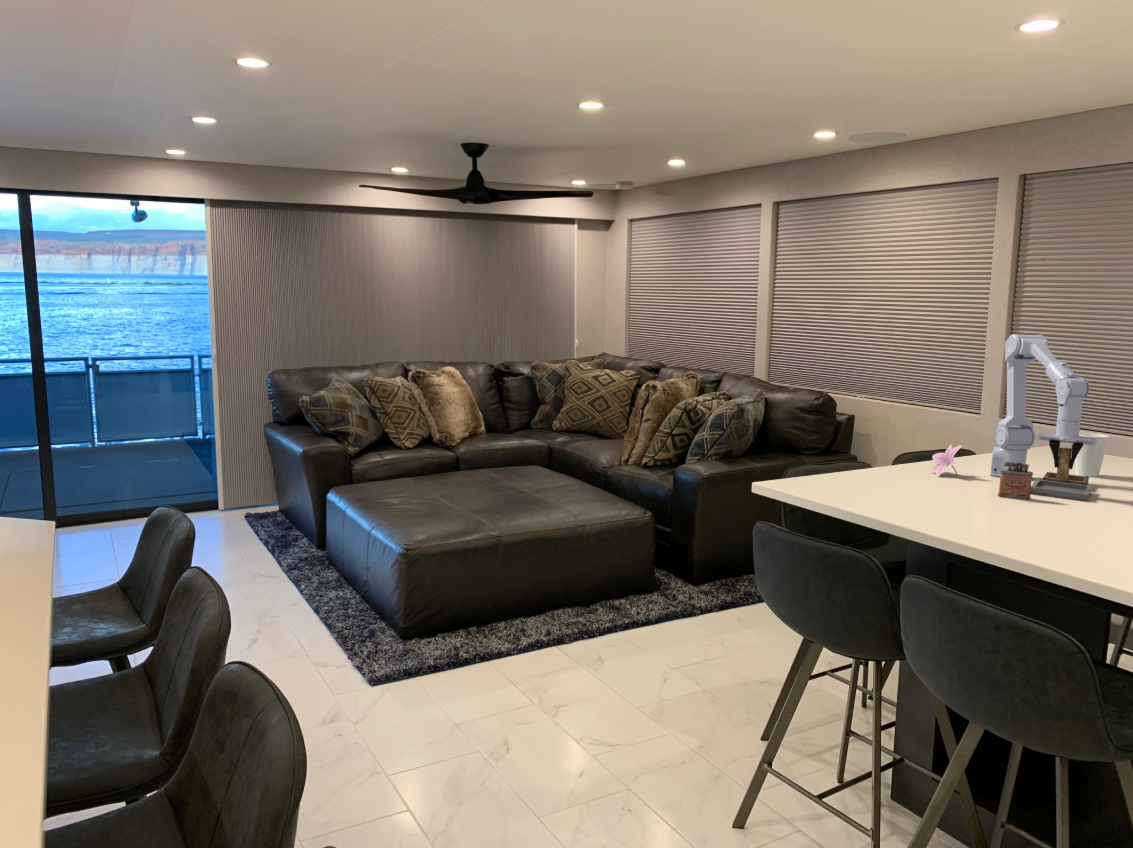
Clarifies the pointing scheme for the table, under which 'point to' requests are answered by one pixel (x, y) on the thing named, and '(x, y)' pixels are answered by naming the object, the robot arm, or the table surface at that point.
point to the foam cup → (1091, 455)
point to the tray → (1061, 490)
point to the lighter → (1015, 481)
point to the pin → (1063, 464)
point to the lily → (944, 460)
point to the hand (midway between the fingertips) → (1063, 467)
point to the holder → (1072, 479)
